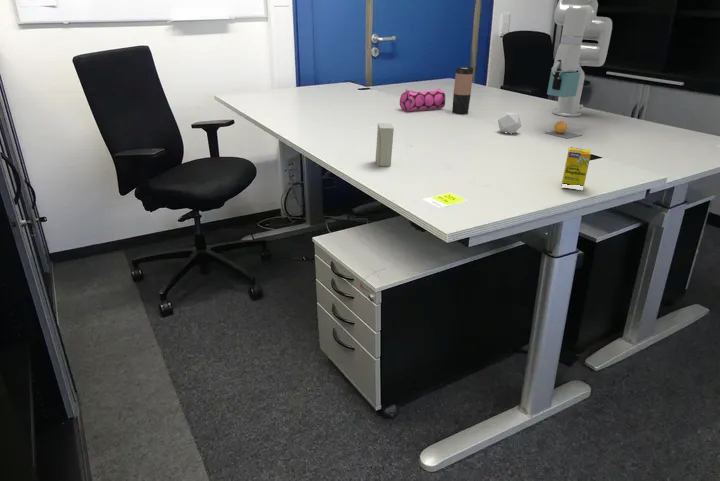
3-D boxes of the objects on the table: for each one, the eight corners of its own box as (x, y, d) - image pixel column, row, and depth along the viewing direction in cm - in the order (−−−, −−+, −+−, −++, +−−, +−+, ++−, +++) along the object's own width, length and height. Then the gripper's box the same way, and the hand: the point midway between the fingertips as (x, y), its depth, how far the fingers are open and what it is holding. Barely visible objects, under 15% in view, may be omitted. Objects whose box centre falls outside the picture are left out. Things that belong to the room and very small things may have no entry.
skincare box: (375, 160, 174) (377, 123, 169) (389, 160, 175) (391, 123, 170) (377, 166, 169) (379, 127, 164) (391, 166, 169) (393, 127, 164)
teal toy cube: (559, 92, 218) (563, 70, 214) (575, 96, 212) (580, 72, 209) (547, 94, 214) (551, 71, 210) (563, 97, 208) (568, 73, 205)
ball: (572, 126, 215) (564, 135, 218) (564, 117, 217) (557, 127, 221) (563, 127, 212) (556, 136, 216) (556, 118, 214) (549, 128, 218)
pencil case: (410, 114, 244) (411, 91, 240) (397, 110, 251) (399, 87, 247) (447, 110, 254) (449, 88, 250) (434, 106, 262) (436, 85, 257)
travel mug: (468, 115, 245) (473, 69, 236) (451, 113, 246) (455, 68, 238) (468, 111, 252) (473, 66, 243) (452, 110, 253) (456, 66, 245)
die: (523, 134, 217) (516, 112, 218) (523, 128, 209) (516, 105, 210) (502, 140, 219) (496, 118, 220) (502, 134, 210) (495, 111, 212)
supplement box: (560, 188, 155) (568, 151, 150) (561, 182, 160) (568, 146, 156) (583, 191, 153) (591, 154, 149) (583, 185, 158) (591, 148, 154)
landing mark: (560, 130, 223) (560, 129, 223) (581, 135, 216) (581, 135, 216) (545, 133, 217) (545, 132, 217) (566, 138, 210) (566, 138, 210)
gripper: (576, 40, 212) (568, 86, 220) (548, 40, 203) (540, 88, 210) (593, 41, 207) (584, 89, 214) (565, 42, 198) (556, 91, 205)
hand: (562, 88), depth 212 cm, fingers closed on teal toy cube, 7 cm apart
